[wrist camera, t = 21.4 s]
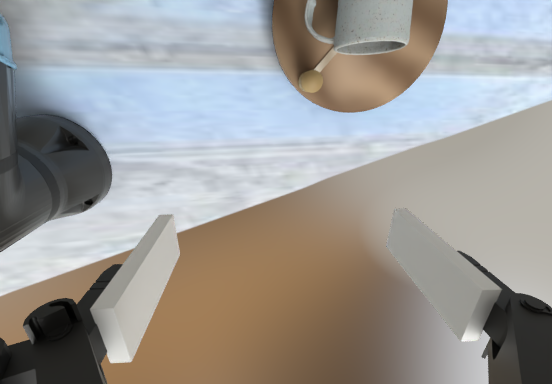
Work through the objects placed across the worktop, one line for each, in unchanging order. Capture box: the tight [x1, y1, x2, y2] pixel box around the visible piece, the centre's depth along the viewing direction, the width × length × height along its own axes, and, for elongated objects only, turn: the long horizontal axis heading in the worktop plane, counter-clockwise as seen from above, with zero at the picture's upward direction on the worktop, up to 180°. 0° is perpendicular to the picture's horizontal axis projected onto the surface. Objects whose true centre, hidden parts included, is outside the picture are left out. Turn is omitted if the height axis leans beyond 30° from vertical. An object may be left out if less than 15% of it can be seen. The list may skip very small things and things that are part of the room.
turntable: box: [272, 0, 448, 112], centre depth 30 cm, size 21×21×6 cm
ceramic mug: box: [305, 0, 413, 55], centre depth 27 cm, size 11×8×8 cm
